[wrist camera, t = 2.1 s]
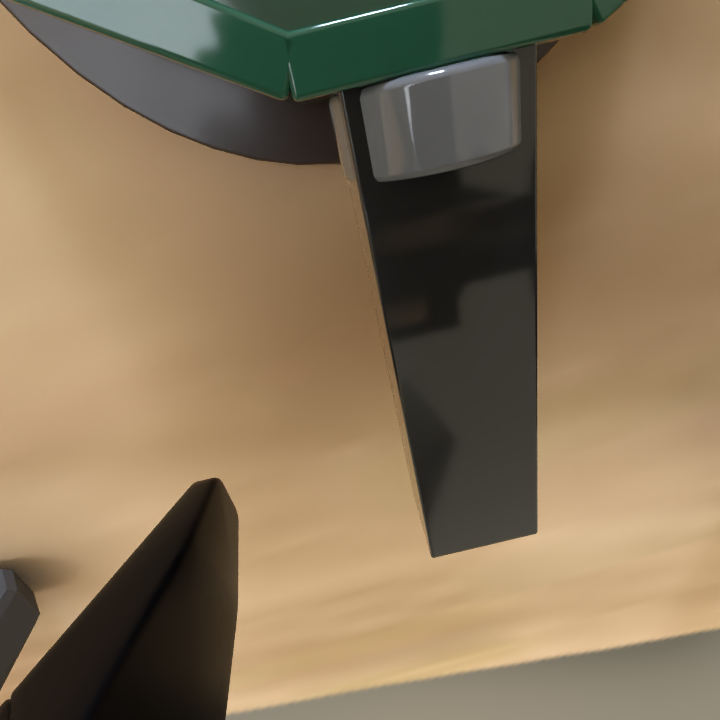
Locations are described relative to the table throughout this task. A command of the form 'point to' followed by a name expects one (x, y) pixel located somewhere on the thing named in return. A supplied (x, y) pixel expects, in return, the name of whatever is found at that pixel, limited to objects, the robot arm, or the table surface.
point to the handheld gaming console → (14, 619)
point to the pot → (413, 203)
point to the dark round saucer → (193, 97)
